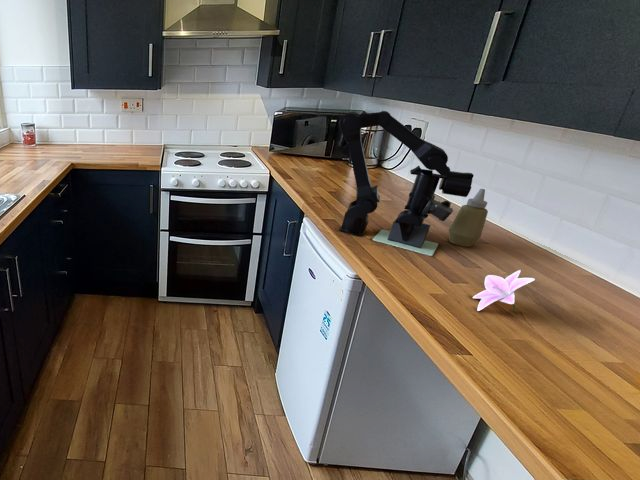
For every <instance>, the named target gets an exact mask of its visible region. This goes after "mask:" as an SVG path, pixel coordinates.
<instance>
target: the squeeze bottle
mask: <svg viewBox="0 0 640 480" xmlns="http://www.w3.org/2000/svg"><path fill="white" fill-rule="evenodd" d="M485 194H486V189H484V188H479V190H478V191H477V192H476V194H475V195H474V196H473V198H468V199H467V202H466V204H464V205H463V204H462V205H461V207H460V208H459V211H458V212H457V214H456V216H455V217H454V219H453V221H452V223H451V225H450V227H449V230H448V235H449V237H448V238H449V239H448V240H449V242H450V243H452V244H455V245H457V246H461V247H469V248H470V247H472V246H473V245H475V244H476V242H477V241H478V240H479V239H481V237H482V234H483V230H484V226H485V225H486V220H487V217H488V212H489V210H488V209H487V208H486V207H487V206H488V202H487V201H486V200H485Z"/></svg>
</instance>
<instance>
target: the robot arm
mask: <svg viewBox="0 0 640 480" xmlns="http://www.w3.org/2000/svg"><path fill="white" fill-rule="evenodd" d="M378 126H379V127H381V128H382V129H383V130H385V131H386V132H387V133H388V134H390V135H391V136H392V137H394V138H395V139H396V140H397V141H399V142H400V143H401V144H402V145H404V146H405V147H407V148H408V149H409V150H410V151H411V152H412V153H413V154H414V156H415V157H416V158H417V159H418V161H419V162H420V163H421V164H422V165H423V167H424V168H421V166H420V165H417V166H416V167H415V168H412V169H410V171H409V173H410V175H413V176H415V178H414V181H413V185H412V188H411V191H410V192H409V193H408V200H407V203H406V204H405V206H404V208H403V209H404V210H402V211H401V212H399V214H398V215H397V217H396V219H397V221H398V222H399V225H400V230H401V236H402V240H403V241H407V240H408V238H409V236H410V235H411V233H412V232H413V230H414V228H416V227H420V226H421V225H422V224H424V221H425V219H427V218H428V217H429V215H432V216H433V217H435V218H437V219H438V220H439V221H442V222H445V221H446V220H447V219H448V218H449V217H450V216H451V215H452V214H453V212H454V209H453V207H451V204H452V202H451V201H449V200H443V201H439V200H438V201H437V200H436V199H435V198H436V195H435V193H436V190H437V187H438V190H440V191H441V194H444V195H448V196H449V195H450V196H456V197H462V198H467V197H468V196H469V194H470V192H471V190H472V184H473V178H474V174H473V173H472V172H461V171H453V170H451V168H450V166H448V165H447V163H448V162H449V156H448V154H447V152H446V151H445V150H444V149H443V148H441V147H439V146H437V145H436V144H433V143H431V142H429V141H427V140H424V139H422V138H421V137H420V136H418V135H417V134H416V133H414V132H413V131H412V130H411V129H409V128H408V127H407V126H406V125H404V124H403V123H402V122H400V121H399V120H397V119H396V118H395V117H393V115H391V113H390V112H389V111H387V110H382V111H378V112H367V113H358V112H356V111H348V112H347V113H345V114H344V115H343V116H342V117H341V118H340V119H339V121H338V128H339V130H340V132H341V134H342V136H343V138H344V141H345V142H346V144H347V147H348V151H349V152H348V153H349V157H350V163H351V166H352V171H353V175H354V180H355V184H356V193H355V195H356V196H355V197H356V198H355V199H354V200H353V201H351V202H350V203H348V207H347V211H345V213H344V216H343V220H342V223H341V227H340V228H339V229H338V231H339V232H343V233H347V234H350V235H354V236H357V237H361V236H362V235H363V234H365V233H366V231H367V228H368V224H369V222H370V220H369V219H368V218H369V214H371V213H374V212H375V211H376V210H377V209H378V205H379V204H378V203H380V201H381V196H380V195H379V191H378V189H379V188H378V187H379V186H378V185H374V186H373V184H372V182H371V180H370V175H369V170H368V165H367V161H366V156H365V152H364V147H363V142H362V131H363V130H362V129H364V128H370V127H371V128H372V127H378ZM425 168H426V169H425ZM433 171H436V172H437V173H434V172H433Z"/></svg>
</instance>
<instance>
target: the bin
mask: <svg viewBox="0 0 640 480" xmlns="http://www.w3.org/2000/svg"><path fill="white" fill-rule="evenodd" d="M430 228H431V224H427V223H423V224H422V225H421V226H420V227H416V228H414V230H413V232H412V233H411V235H410V236H409V238H408V240H407V241H403V240H402V236H401V230H400V225H399V222H398V221H397V218H395V220H394V221H393V222H392V225H391V228H390V230H389V231H390V233H389V236H388V239H387V240H390V241H394V242H398V243H401V244H405V245H409V246H413V247H416V248H420V249H421V247H422V245H423V244H424V242H425V240H426V238H427V237H428V234H429V230H430Z"/></svg>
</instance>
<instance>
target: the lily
mask: <svg viewBox="0 0 640 480" xmlns="http://www.w3.org/2000/svg"><path fill="white" fill-rule="evenodd" d="M520 274H521V269H519V270H516V271H515V272H513V273H511V274H509V275H508V276H506V277H505V278H504V277H502V276H499V275H495V274H488V275H486V276H485V278H484V288H485V289H484V290H482V291H480V292H478V293H476V294H475V295H474V296H472V299H480V301H479V302H478V305H477V308H476V309H477V310H476V311H477V312H479V311H482V310H483V309H485V308H486V307H488V306H490V305H491V304H493V303H495V302H496V301H499V302H501V303H505V304H508V305H512V307H513V310H514V312H515V313H516V312H517V309H516V305H515V291H516V290H518V289H520V288H521V287H524V286H526V285H527V284H529V283H532V282H534V281H535V280H536V279H535V278H534V277H520Z"/></svg>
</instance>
